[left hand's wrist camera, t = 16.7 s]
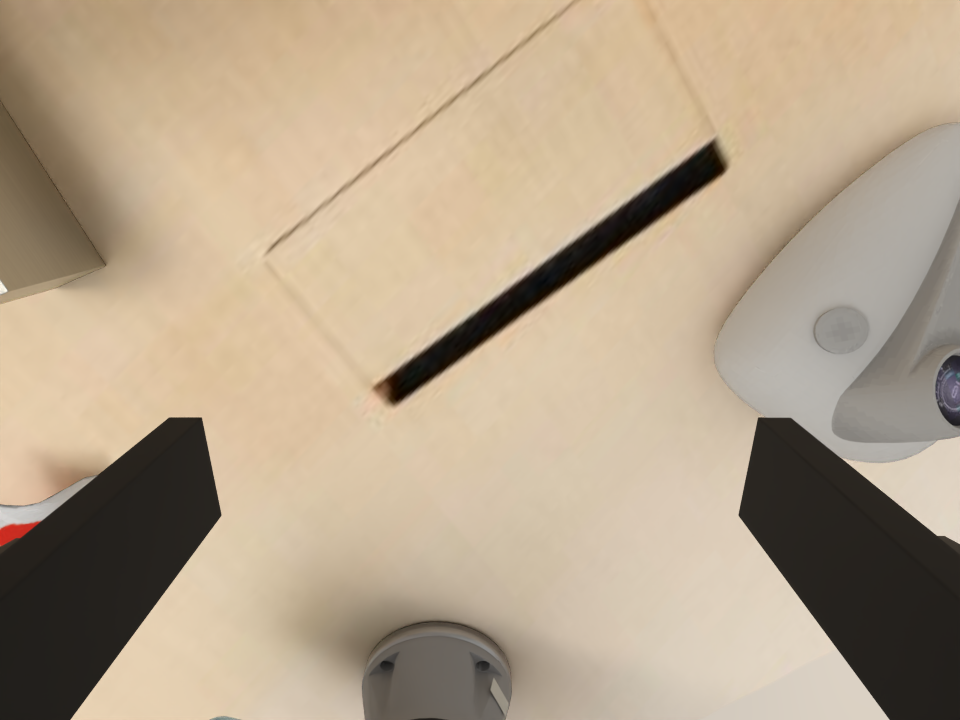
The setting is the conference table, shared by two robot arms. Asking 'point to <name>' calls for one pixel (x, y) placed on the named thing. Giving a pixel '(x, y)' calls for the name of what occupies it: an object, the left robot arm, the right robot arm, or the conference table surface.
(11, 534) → the fish
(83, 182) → the conference table surface
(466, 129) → the conference table surface
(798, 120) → the conference table surface
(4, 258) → the bar
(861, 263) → the projector
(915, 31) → the conference table surface
